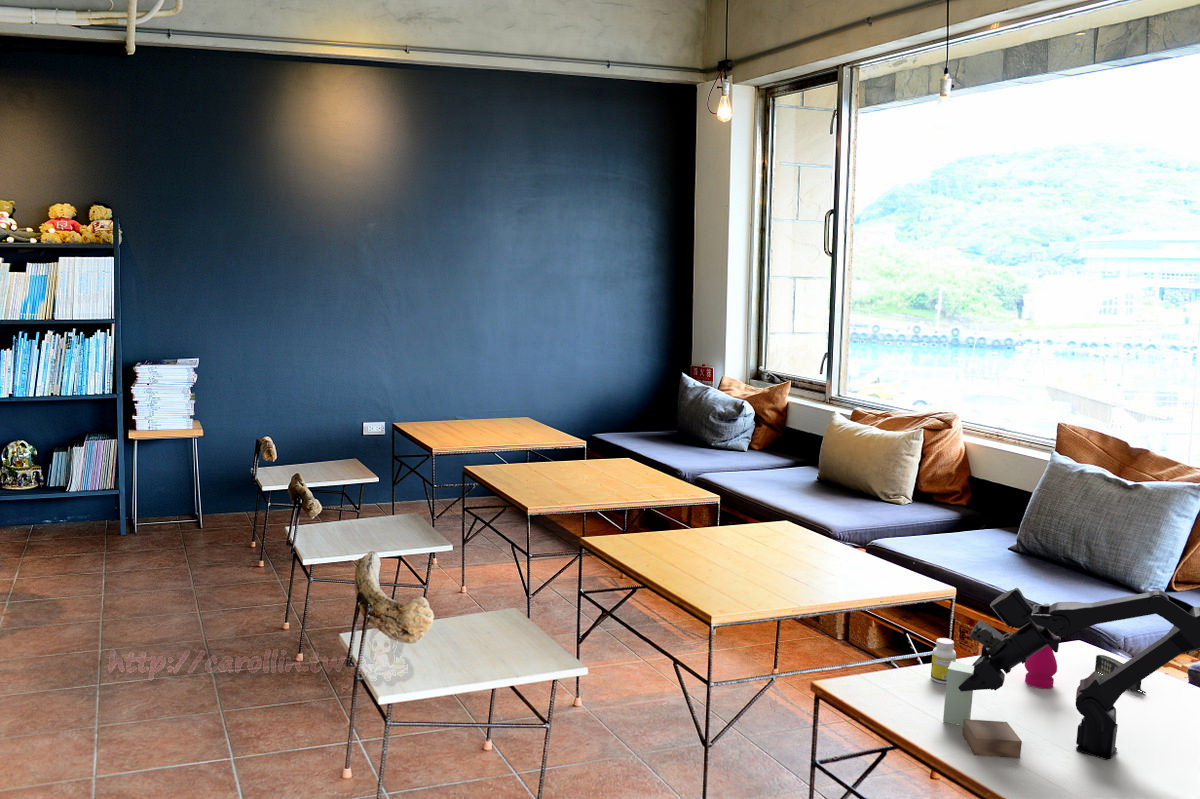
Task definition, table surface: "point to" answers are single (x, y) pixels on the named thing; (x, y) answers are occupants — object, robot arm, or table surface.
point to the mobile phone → (1111, 668)
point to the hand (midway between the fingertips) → (962, 682)
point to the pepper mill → (1041, 668)
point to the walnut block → (991, 738)
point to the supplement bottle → (942, 659)
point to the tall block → (957, 694)
